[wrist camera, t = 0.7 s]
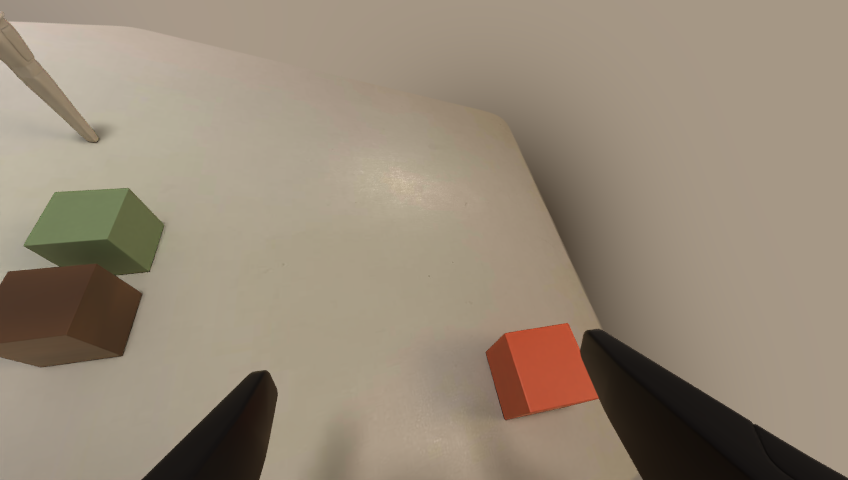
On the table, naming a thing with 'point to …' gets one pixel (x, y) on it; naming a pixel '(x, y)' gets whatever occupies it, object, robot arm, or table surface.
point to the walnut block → (65, 315)
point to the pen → (39, 78)
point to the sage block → (97, 231)
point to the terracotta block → (539, 371)
